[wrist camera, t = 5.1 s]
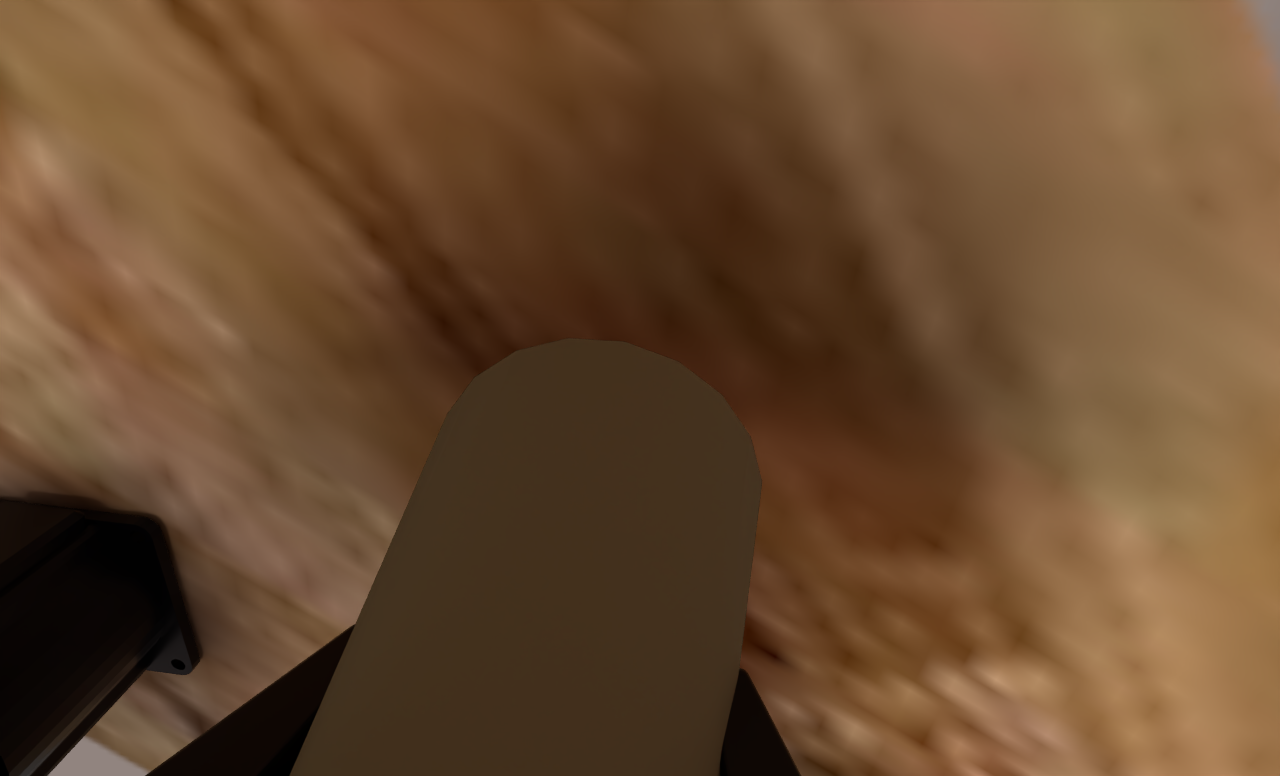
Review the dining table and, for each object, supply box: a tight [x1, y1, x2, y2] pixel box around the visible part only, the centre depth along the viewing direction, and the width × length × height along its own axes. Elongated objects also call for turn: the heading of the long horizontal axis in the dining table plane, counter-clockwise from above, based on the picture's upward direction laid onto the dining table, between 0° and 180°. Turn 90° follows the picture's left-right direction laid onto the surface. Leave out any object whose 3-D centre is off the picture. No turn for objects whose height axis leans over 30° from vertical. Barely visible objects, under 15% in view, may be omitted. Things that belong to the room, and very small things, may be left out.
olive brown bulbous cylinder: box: [290, 338, 762, 776], centre depth 8 cm, size 6×6×11 cm
